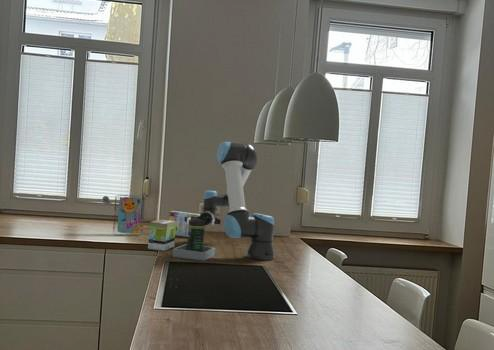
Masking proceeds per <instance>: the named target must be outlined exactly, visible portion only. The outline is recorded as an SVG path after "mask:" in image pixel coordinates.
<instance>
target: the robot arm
mask: <svg viewBox="0 0 494 350" xmlns="http://www.w3.org/2000/svg"><path fill="white" fill-rule="evenodd" d="M216 160H217V162H218V163H219V164H220V163H221V168H222V169H224V172H225V173H224V174H225V183H226V189H227V191H226V193H225V194H220V193H219V194H218V192H217V191H216V190H204V194H203V208H202V212H201V215H200V216H197V217H195V216H191V217H185V219H184V221H185V222H186V221H187V223H189V220H190V219H192V218H199V219H201V220H203V221H204V222H205V226H208V225H210V224H211V226H214V225H217V224H218V225H221V221H222V219H220V218H217V214H216V211H217V210H216V208H229V209H228V212H227V214H226V215H225V216H224V217H225V218H224V220H223V221H224V222H223V226H224V227H223V228H224V231H225V235H227V236H228V237H229V238H232V239H233V238H234V239H250V243H249V246H248V249H247V250H246V257H247V258H249V259H253V260H257V261H259V260H260V261H273V260H275V257H276V252H275V250H274V245H273V240H274V232H275V231H274V230H275V219H274V216H271V215H267V214H262V213H256V212H253V213H252V215H250V211H249V210H248V209H247V208H246V201H245V200H246V199H245V193H244V192H245V191H244V186H245V184H246V182H247V180H248V178H249V176H250V175H251V172H252V171H253V170H254V169H255V168H256V166H257V164H258V152H257V151H256V149H255V147H254V146H253V145H252V144H250V143H243V142H234V141H233V142H232V141H223V142H221V143H219V146H218V147H217V151H216Z"/></svg>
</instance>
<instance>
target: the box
mask: <svg viewBox="0 0 494 350" xmlns="http://www.w3.org/2000/svg"><path fill="white" fill-rule="evenodd" d="M114 199H115V200H114V214H113V215H114V216H113V225H112V226H113V227H112V230H113V235H115V236H116V237H117V236H118V234H117V233H119V234H120V236H123V234H128V236H134V237H137V236H138V237H139V235H142V234H143V232H144V231H143V230H144V229H141V228H143V226H144V220H145V219H144V212H145V205H146V204H145V203H146V202H145V196H142V195H138V197H137V196H135V195H134V194H133V195H132V194H131V195H129V194H126V195H125V194H117V196H115V198H114ZM117 199H119V200H118V202H117ZM102 203H103V204H105V205H109V204H110V205H112V204H113V202H111V201H110V197H108V196H107V195H104V196H103V197H102ZM117 208H118V209H117ZM116 212H117V214H116ZM116 219H117V222H116ZM115 228H116V231H117V233H116V231H115ZM140 229H141V232H140ZM115 233H116V234H115ZM122 233H123V234H122ZM135 233H140V234H135Z"/></svg>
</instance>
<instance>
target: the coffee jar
mask: <svg viewBox="0 0 494 350" xmlns="http://www.w3.org/2000/svg"><path fill="white" fill-rule="evenodd" d="M205 226H206V225H205V222H204V221H203V220H201V219H199V218H192V219H190V220H189V227H188V237H187V242H186V244H187V250H190V251H198V252H203V246H204V240H205V239H204V238H205V237H204V236H205V228H206V227H205Z"/></svg>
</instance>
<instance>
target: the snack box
mask: <svg viewBox="0 0 494 350" xmlns="http://www.w3.org/2000/svg"><path fill="white" fill-rule="evenodd" d="M201 214H202V213H201ZM201 214H200V213H193V212H187V211H186V212H185V211H177V210H171V211H169V216H168V220H169V221H176V231H175V236H178V237H179V236H180V237H185V238H186V237H187V238H188V227H189V223H187V221H186V222H185V221H184V219H185V217H191V216H195V217H197V216H200V215H201Z"/></svg>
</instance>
